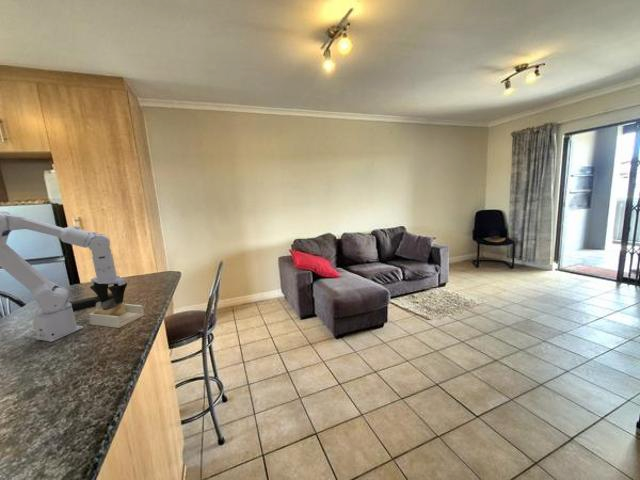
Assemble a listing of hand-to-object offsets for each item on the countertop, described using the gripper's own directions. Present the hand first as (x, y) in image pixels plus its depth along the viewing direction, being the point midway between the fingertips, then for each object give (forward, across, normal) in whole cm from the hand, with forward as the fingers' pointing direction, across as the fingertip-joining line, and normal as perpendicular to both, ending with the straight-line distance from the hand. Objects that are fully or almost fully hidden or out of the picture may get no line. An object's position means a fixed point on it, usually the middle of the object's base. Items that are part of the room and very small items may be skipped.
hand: (112, 302), depth 100 cm
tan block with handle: (+6, +2, 0) cm, 6 cm away
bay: (+7, -1, 0) cm, 7 cm away
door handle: (+8, +24, -6) cm, 26 cm away
